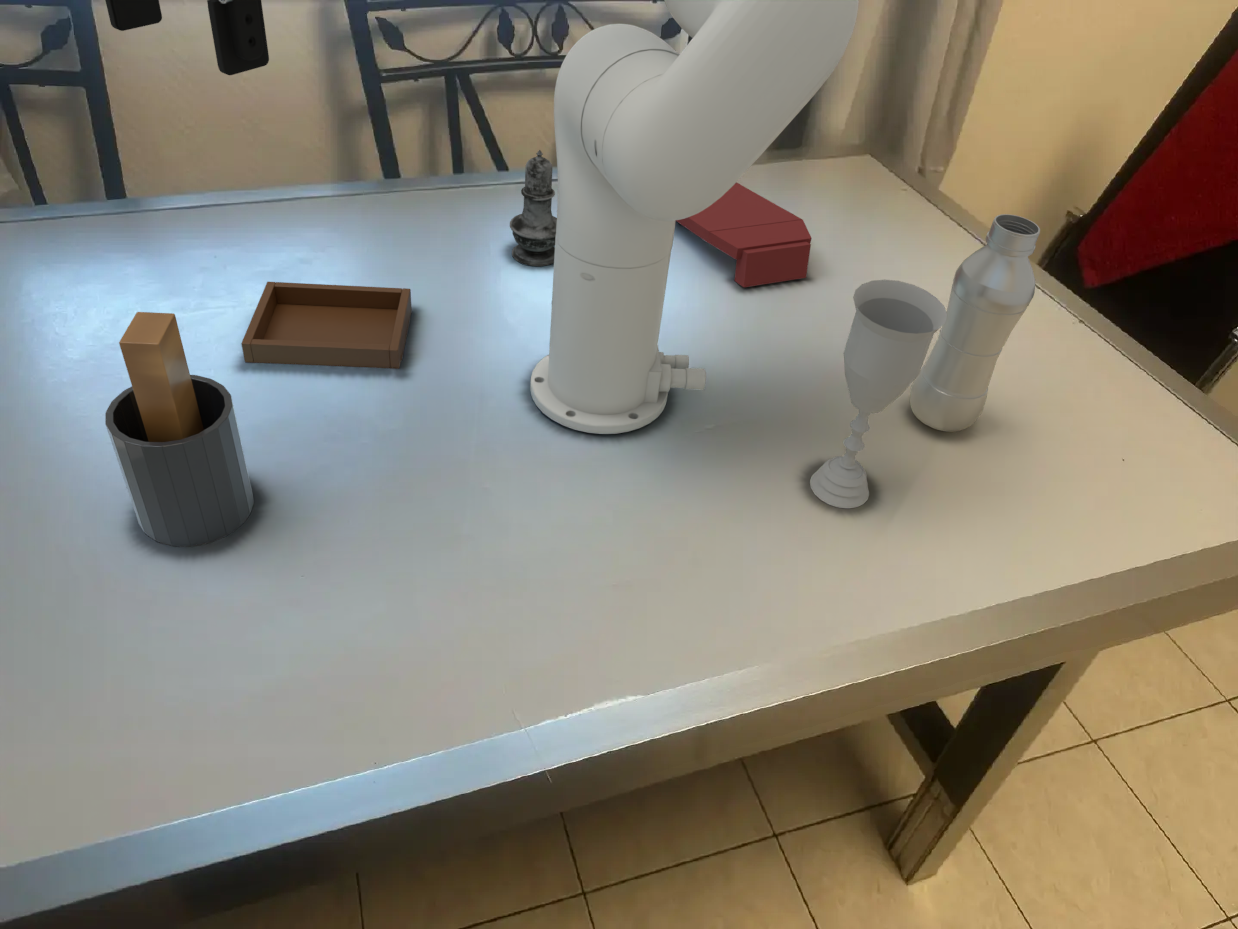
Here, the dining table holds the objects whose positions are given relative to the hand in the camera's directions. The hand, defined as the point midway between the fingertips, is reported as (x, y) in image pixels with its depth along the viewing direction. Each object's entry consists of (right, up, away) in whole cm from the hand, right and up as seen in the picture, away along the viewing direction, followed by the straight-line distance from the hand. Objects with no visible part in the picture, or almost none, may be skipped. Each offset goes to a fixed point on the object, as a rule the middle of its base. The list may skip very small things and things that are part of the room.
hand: (189, 46), depth 58 cm
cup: (-6, -29, +14) cm, 33 cm away
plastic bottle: (+56, -21, +32) cm, 68 cm away
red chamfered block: (+38, +2, +57) cm, 68 cm away
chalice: (+45, -27, +23) cm, 57 cm away
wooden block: (-6, -29, +14) cm, 32 cm away
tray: (-1, -13, +33) cm, 35 cm away
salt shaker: (+17, -2, +48) cm, 51 cm away
